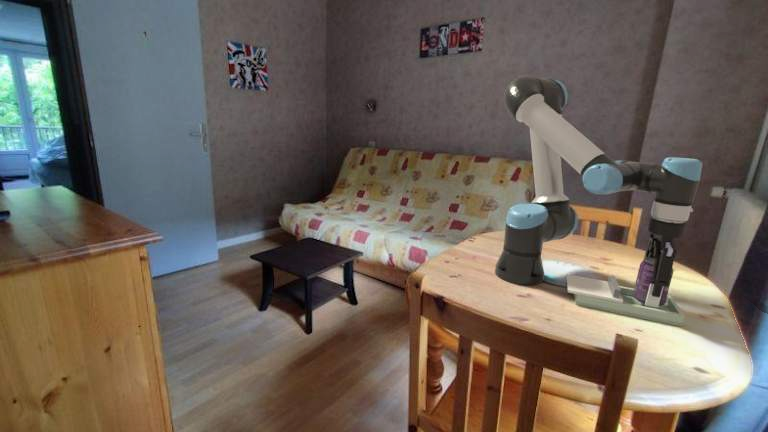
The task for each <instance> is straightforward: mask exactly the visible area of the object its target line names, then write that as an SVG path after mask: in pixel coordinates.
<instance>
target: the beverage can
mask: <svg viewBox="0 0 768 432" xmlns="http://www.w3.org/2000/svg"><path fill="white" fill-rule="evenodd" d="M654 266H655V258H652V257H644V256H643V260H642V261H640V264H639V267H638V272H637V276H636V280H635V284H634V288H633V289H634V291H633V297H634V298H635V299H637V300H638V301H639V302H641V303H643V304H645V302H646V298H647V294H648V290H649V286H650V284H649V281H651V282H652V281H653V274H654ZM674 272H675V271H674V268H673V266H672V271H671V275H670V280H669V285H668V287H666V286H664V288H663V292H662V295H661V299H660V303H659V306H662V305H664V304H665V301H666V298H667V295H669V294H668V293H669V291H670V290H669V289H670V286H671V282H672V279H673V276H674Z"/></svg>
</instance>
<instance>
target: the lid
mask: <svg viewBox="0 0 768 432" xmlns="http://www.w3.org/2000/svg"><path fill="white" fill-rule="evenodd" d="M565 277H566V278H565V279H566V288H567V293H569V294H573V295H574V294H579V295H584V296H589V297H594V298H599V299H604V300H609V301H614V302H619V303H623V299H622V297H621V294H620V292H621V289H620V287H619V286H620V285H619V283H618V281H617V278H616V276H615V275H611V274H609V275H608V278H607V280H601V279H595V278H591V277H584V276H578V275H575V274H574V275H573V274H568V273H566V275H565Z"/></svg>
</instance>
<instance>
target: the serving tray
mask: <svg viewBox="0 0 768 432" xmlns="http://www.w3.org/2000/svg"><path fill="white" fill-rule="evenodd" d="M619 287H620V289H621V292H620V294H621V297H622V299H623V303H619V302H614V301H609V300H604V299H599V298H594V297H589V296H584V295H579V294H574V293H573V297H574V298H573V299H574V304H575V305H577V306H580V307H581V306H582V307H586V308H592V309H596V310H602V311H606V312H610V313H614V314H615V313H616V314H619V315H625V316H630V317H635V318H639V319H643V320H644V319H646V320H648V321H649V320H650V321H653V322H659V323H662V324H667V325H668V324H669V325H672V326H677V327H682V328H683V327H684V323H685V320H686V314H685V313H684V311H683V310H682V309H681V308H680V307H679V305H678V303H677V302H676V301H675V299H674V298H673V296H672V295H671V294H667V298H666V301H665V304H664V305H662V306H659V307H658V308H656V307H650V306H646V305H645V304H643V303H641V302H639V301H638V300H637V299H635V298H634V297H633V291H634V288H632V287H627V286H626V287H625V286H621V285H619Z"/></svg>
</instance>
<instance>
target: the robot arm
mask: <svg viewBox="0 0 768 432" xmlns="http://www.w3.org/2000/svg"><path fill="white" fill-rule="evenodd" d="M567 90H568V89H567V87H566V86H565V85H564V84H563V82H561V81H559V80H556V79H554V78H550V77H538V76H537V77H536V76H531V75H523V76H519V77H516V78H515V79H514V80H512V81H511V82H510V83H509V84H508V85H507V87H506V89H505V90H504V93H503V105H504V106H505V108H506V110H507V112H508V113H509V114H510V115H511V116H512V117H513V118H514V119H515V120H517V121H518V122H519V123H524V124H525V125H526V126H528V127H529V136H530V145H531V146H530V147H531V158H532V159H531V160H532V169H533V181H534V192H535V197H534V199H533V200H532V201H531V203H518V204H515V205H513V206H511V207H510V208H509V209H508V211H507V217H506V219H505V231H504V238H503V239H504V240H503V248H502V252H501V253H500V255H499V257H498V259H497V261H496V264H495V268H494V273H495V274H496V276H498V277H499V278H500V279H502V280H505V281H506V282H509V283H512V284H517V285H521V286H522V285H524V286H528V285H529V286H534V285H539V284H541V283H543V281H544V278H545V270H544V266H543V265H544V264H543V260H542V253H543V251H542V250H543V247H544V246H543V245H544V244H545V243H546V242H551V241H555V240H558V241H559V240H562V239H564V238H566V237H568V236H570V235H572V234H573V233H574V232H575V230H576V229H577V227H578V223H579V216H578V213H577V211H576V209H574V208H573V206H571V202H570V198H569V197H568V196H567V195H565V194H564V193H565V192H564V182H563V174H562V172H563V171H562V169H563V168H562V159H564V161H565V162H567V164H568V165H570V166H571V167H572V169H574V170H575V171H576V172H577V173H578V174H579V175H580V176H581V177H582V183H583V186H584V188H585V189H586V191H588V192H589V193H591V194H594V195H610V194H614V193H618V192H620V193H622V192H626V191H627V192H628V191H637V192H645V193H648V194H649V193H650V194H655V195H654V196H655V197H654V200H653V203H652V205H651V206H652V207H651V211H650V215H651V217H650V218H649V219H648V220H649V221H648V224H647V228H646V230H647V231H648V232H649V239H648V243H647V247H646V250H645V253H644V256H643V258H644V257H652V258H655V266H654V274H653V281H652V282H651V281H649V284H650V286H649V290H648V294H647V298H646V302H645V305H646V306H650V307H656V308H658V307H659V303H660V299H661V295H662V292H663V288H664V286H666V287H668V285H669V280H670V275H671V271H672V267H673V266H674V261H675V257H676V255H677V253H678V248H675V243H674V239H675V238H678V239H680V238H683V237H684V236H685V233H686V230H687V226H688V223H687V221H689V218H690V215H691V213H693V212H694V208H692V207H693V204H694V199H695V197H696V193H697V189H698V186H699V183H700V181H701V175H702V174H701V173H702V169H703V162H702V161H701V160H699V159H697V158H689V157H677V156H676V157H674V156H673V157H671V156H670V157H666V158H664V160H663V162H662V163H659V164H658V163H648V162H639V161H632V160H619V159H618V160H613V159H612V158H611V157H609V156H608V155H607V154H606V153H605V152H603V151H602V150H601V148H599V147H598V146H596V145H595V143H594V142H592V141H591V140H590V139H588V138H587V137H586V136H585V135H583V133H582V132H580V131H579V130H578V129H576V128H575V127H574V126H573V125H572V124H571V123H570V122H568V121H567V120H566V119H565V118H564V117H563V110H564V108H565V106H566V105H567V102H568V98H569V95H568V91H567ZM561 158H562V159H561Z"/></svg>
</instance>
